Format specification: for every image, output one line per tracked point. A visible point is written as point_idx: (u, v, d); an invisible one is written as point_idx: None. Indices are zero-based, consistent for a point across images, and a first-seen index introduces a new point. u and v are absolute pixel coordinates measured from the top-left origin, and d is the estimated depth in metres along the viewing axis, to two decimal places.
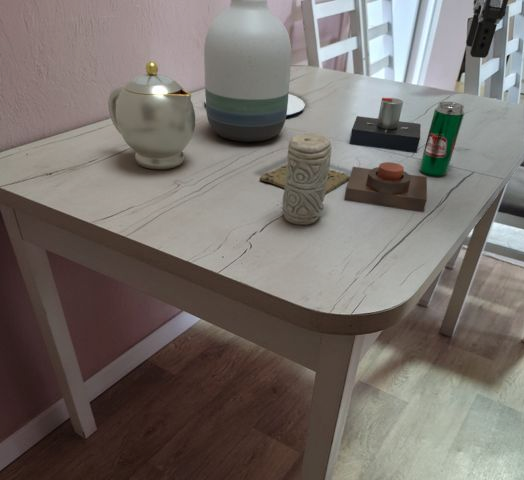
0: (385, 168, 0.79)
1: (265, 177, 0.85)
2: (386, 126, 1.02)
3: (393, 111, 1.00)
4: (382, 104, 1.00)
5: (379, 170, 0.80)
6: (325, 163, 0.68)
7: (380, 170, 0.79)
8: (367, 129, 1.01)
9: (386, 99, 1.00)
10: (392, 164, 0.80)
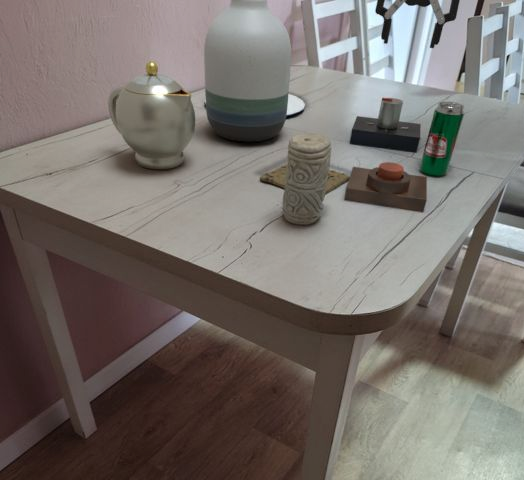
0: (385, 168, 0.79)
1: (265, 177, 0.85)
2: (386, 126, 1.02)
3: (393, 111, 1.00)
4: (382, 104, 1.00)
5: (379, 170, 0.80)
6: (325, 163, 0.68)
7: (380, 170, 0.79)
8: (367, 129, 1.01)
9: (386, 99, 1.00)
10: (392, 164, 0.80)
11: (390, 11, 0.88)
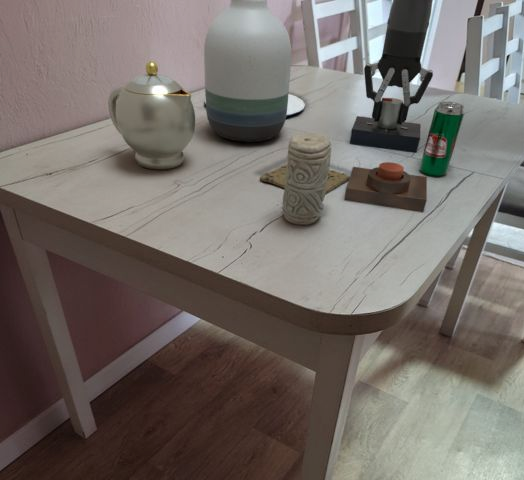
0: (385, 168, 0.79)
1: (265, 177, 0.85)
2: (386, 126, 1.02)
3: (393, 111, 1.00)
4: (382, 104, 1.00)
5: (379, 170, 0.80)
6: (325, 163, 0.68)
7: (380, 170, 0.79)
8: (367, 129, 1.01)
9: (386, 99, 1.00)
10: (392, 164, 0.80)
11: (379, 96, 1.00)
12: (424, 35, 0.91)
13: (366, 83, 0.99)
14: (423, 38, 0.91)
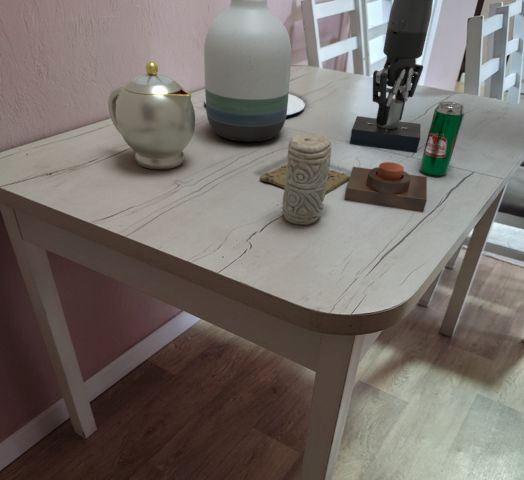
0: (385, 168, 0.79)
1: (265, 177, 0.85)
2: (395, 126, 1.02)
3: None
4: (391, 106, 0.99)
5: (379, 170, 0.80)
6: (325, 163, 0.68)
7: (380, 170, 0.79)
8: (367, 129, 1.01)
9: None
10: (392, 164, 0.80)
11: (390, 99, 0.98)
12: None
13: (383, 90, 0.95)
14: None
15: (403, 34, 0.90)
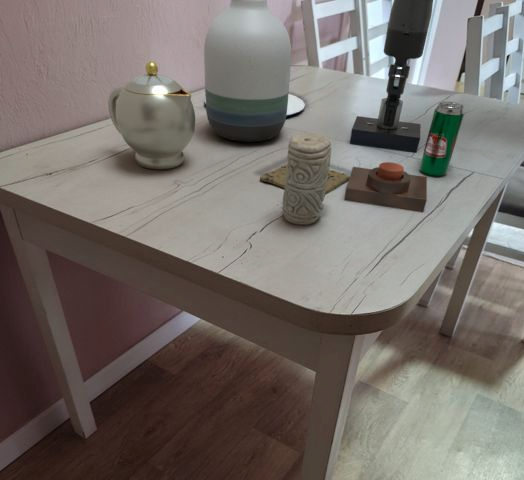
0: (385, 168, 0.79)
1: (265, 177, 0.85)
2: None
3: None
4: None
5: (379, 170, 0.80)
6: (325, 163, 0.68)
7: (380, 170, 0.79)
8: (367, 129, 1.01)
9: None
10: (392, 164, 0.80)
11: None
12: None
13: (400, 93, 0.94)
14: None
15: (415, 35, 0.90)
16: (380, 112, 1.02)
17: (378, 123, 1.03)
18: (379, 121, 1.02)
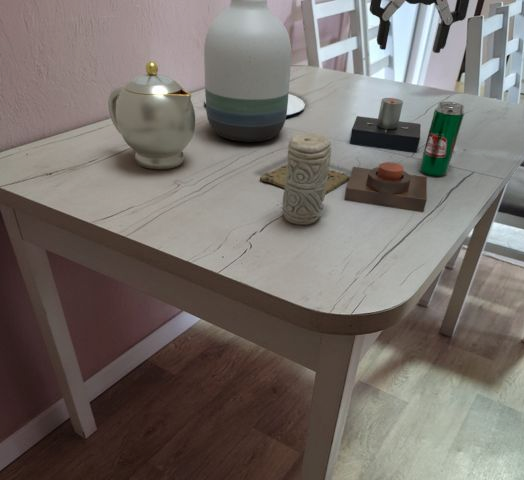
0: (385, 168, 0.79)
1: (265, 177, 0.85)
2: None
3: None
4: (397, 107, 0.99)
5: (379, 170, 0.80)
6: (325, 163, 0.68)
7: (380, 170, 0.79)
8: (367, 129, 1.01)
9: (393, 101, 0.99)
10: (392, 164, 0.80)
11: (389, 11, 0.73)
12: None
13: None
14: None
15: None
16: (380, 112, 1.02)
17: (378, 123, 1.03)
18: (379, 121, 1.02)
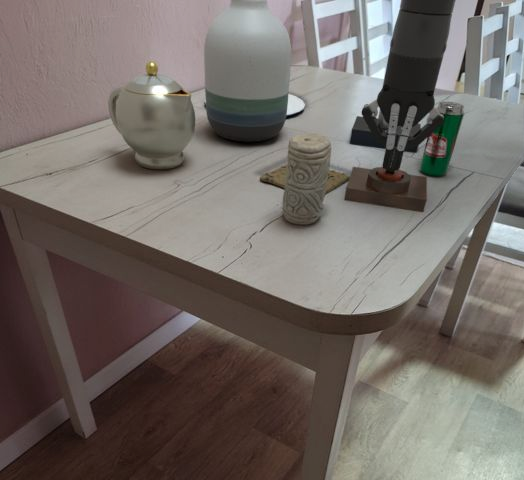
0: (384, 173, 0.79)
1: (265, 177, 0.85)
2: None
3: None
4: None
5: (378, 175, 0.80)
6: (325, 163, 0.68)
7: (379, 176, 0.80)
8: (367, 129, 1.01)
9: None
10: None
11: (393, 141, 0.76)
12: (439, 62, 0.68)
13: (370, 128, 0.76)
14: (438, 66, 0.68)
15: (391, 55, 0.69)
16: (380, 112, 1.02)
17: None
18: (379, 121, 1.02)
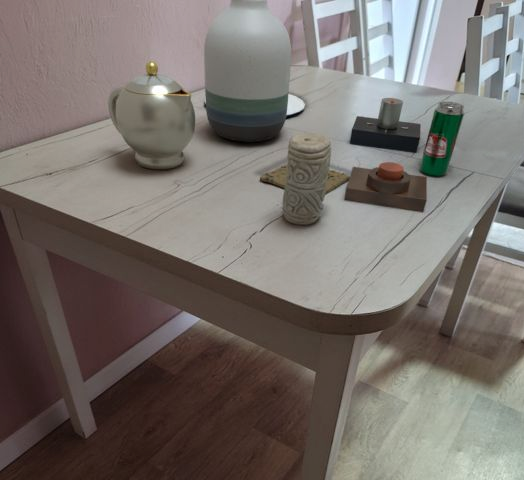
0: (385, 168, 0.79)
1: (265, 177, 0.85)
2: None
3: None
4: (397, 107, 0.99)
5: (379, 170, 0.80)
6: (325, 163, 0.68)
7: (380, 170, 0.79)
8: (367, 129, 1.01)
9: (393, 101, 0.99)
10: (392, 164, 0.80)
11: None
12: None
13: None
14: None
15: None
16: (380, 112, 1.02)
17: (378, 123, 1.03)
18: (379, 121, 1.02)
